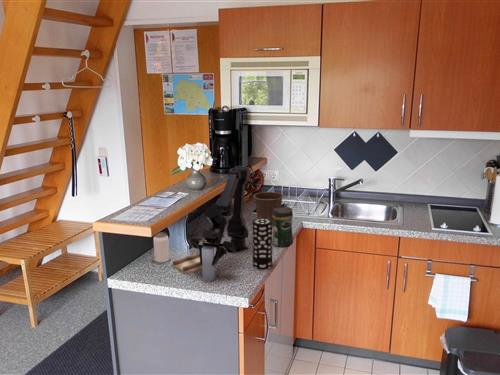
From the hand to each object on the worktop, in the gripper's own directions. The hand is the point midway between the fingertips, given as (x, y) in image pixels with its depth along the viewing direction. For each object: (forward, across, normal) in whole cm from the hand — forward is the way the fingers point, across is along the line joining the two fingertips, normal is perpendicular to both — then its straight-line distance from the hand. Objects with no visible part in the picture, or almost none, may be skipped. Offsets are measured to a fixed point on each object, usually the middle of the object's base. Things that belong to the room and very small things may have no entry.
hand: (206, 264), depth 167 cm
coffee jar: (-28, +18, +38) cm, 51 cm away
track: (-4, -12, +13) cm, 18 cm away
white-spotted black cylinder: (-10, +17, +19) cm, 27 cm away
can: (-3, -28, +13) cm, 31 cm away
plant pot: (-48, +2, +58) cm, 76 cm away
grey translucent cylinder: (+4, 0, +6) cm, 7 cm away
